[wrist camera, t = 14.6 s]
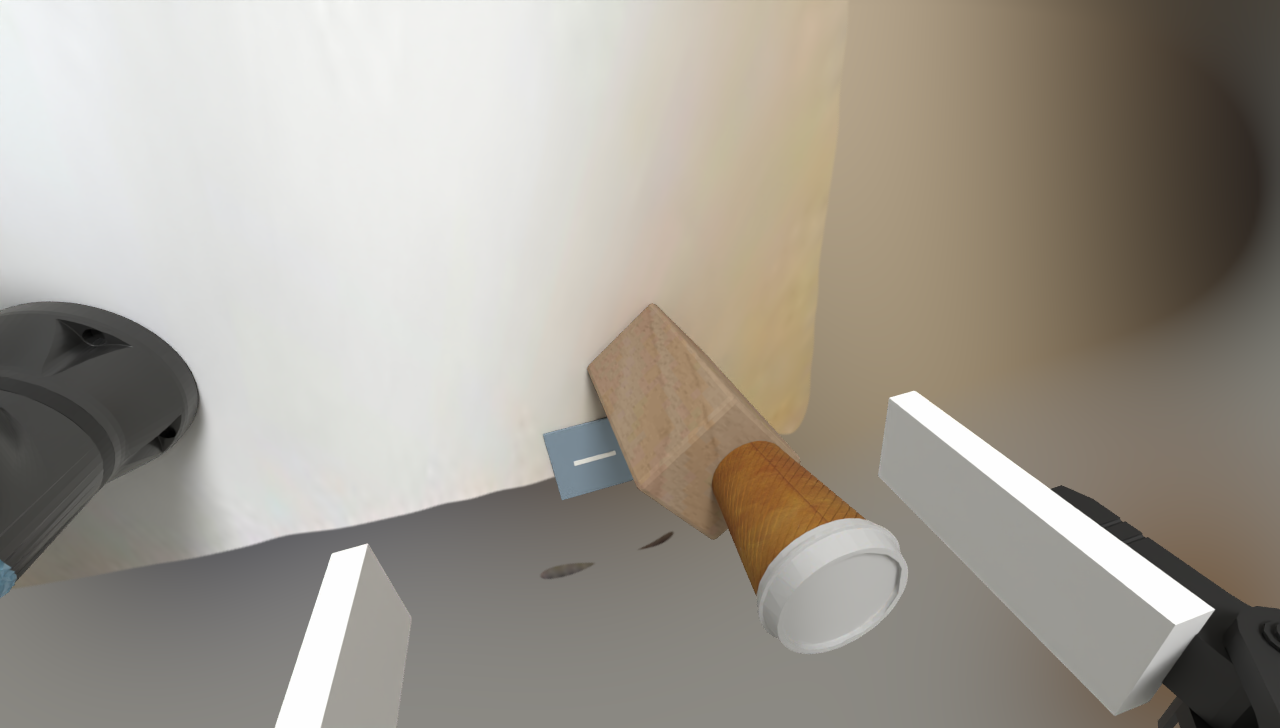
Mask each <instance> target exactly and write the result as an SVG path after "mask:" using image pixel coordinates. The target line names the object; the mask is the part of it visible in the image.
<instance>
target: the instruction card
mask: <svg viewBox="0 0 1280 728" xmlns="http://www.w3.org/2000/svg"><path fill="white" fill-rule="evenodd" d="M543 436H544V440H545V443H546V447H547V450H548V453H549V457H550V460H551V464H552V467H553V471H554V474H555V478H556V481H557V484H558V488H559V491H560V494H561V498H562V500H564V499H568V498H571V497H575V496H579V495H582V494H586V493H589V492H593V491H596V490H600V489H603V488H607V487H610V486H614V485H617V484H621V483H624V482H628V481H631V480H634V479H633V477H632V474H631V472H630V470H629V467H628V465H627V462H626V460H625V458H624V455H623V453H622V451H621V448H620V446H619V444H618V441H617V439H616V436H615V434H614V432H613V429H612V427H611V425H610V422H609V420H608V418H603V419H599V420H595V421H591V422H588V423H584V424H580V425H576V426H572V427H569V428H565V429H561V430H557V431H553V432H549V433H546V434H543Z"/></svg>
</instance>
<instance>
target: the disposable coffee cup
mask: <svg viewBox="0 0 1280 728" xmlns="http://www.w3.org/2000/svg"><path fill="white" fill-rule="evenodd" d="M712 489H713V493H714V495H715V497H716V500H717V502H718V504H719V507H720V509H721V512H722V514H723V516H724V519H725V521H726V524H727V526H728V529H729V531H730V534H731V536H732V539H733V541H734V543H735V546H736V548H737V551H738V553H739V556H740V558H741V560H742V563H743V565H744V568H745V570H746V572H747V575H748V577H749V580H750V582H751V585H752V587H753V589H754V591H755V594H756V596H757V607H758V615H759V619H760V622H761V624H762V625H763V627H764V628H765V630H766V631H767V632H768V633H769V634H771V635H772V636H774V637H776V638H778V639H779V640H780V641H781V642H782V643H783V644H784V645H785V646H786V647H787V648H788V649H790V650H792V651H794V652H797V653H804V654H814V653H822V652H827V651H830V650H833V649H836V648H839V647H842V646H844V645H846V644H848V643H850V642H852V641H854V640H856V639H858V638H860V637H861V636H862V635H864V634H865V633H867V632H868V631H869V630H871V629H872V628H874V627H875V626H876V625H877V624H878V623H879V622H881V621H882V620H883V619H884V618H885V617H886V616H887V615H888V614H889V612H890V611H891V610H892V609H893V608H894V607H895V605H896V603H897V602H898V600H899V598H900V596H901V595H902V593H903V591H904V589H905V586H906V583H907V579H908V568H907V564H906V562H905V560H904V558H903V556H902V555H901V553H900V547H899V543H898V542H897V539H896V538H895V537H894V535H893V534H892V533H891V532H890V531H889V530H887V529H886V528H884V527H881V526H879V525H878V524H875V523H873V522H871V521H868V520H866V519H865V518H864V517H862V516H861V515H860V514H859V513H857V512H856V511H855V510H854V509H853V508H852V507H850V506H849V505H848V504H847V503H846V502H844V501H842V499H841V498H840V497H838V496H837V495H836V494H835V493H834V492H832V491H831V490H829V488H828V487H826V486H825V485H823V483H822V482H820V481H819V480H817V478H816V477H814V476H813V475H811V473H810V472H808V471H807V470H806V469H805V468H804V467H802V466H800V464H799V463H798V462H796V461H795V460H794V459H793V458H791V457H790V456H789V455H788V454H787V453H786V452H784V451H783V450H782V449H781V448H780V447H779V446H777V445H776V444H774V443H771V442H767V441H754V442H750V443H747V444H744V445H742V446H739V447H738V448H736V449H734V450H733V451H731V452H730V453H729V454H728V455H727V456H725V458H724V459H723V460H722V461H721V462H720V464H719V465H718V467H717V469H716V470H715V473H714V475H713V480H712Z"/></svg>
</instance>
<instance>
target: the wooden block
mask: <svg viewBox="0 0 1280 728" xmlns="http://www.w3.org/2000/svg"><path fill="white" fill-rule="evenodd" d="M587 370H588V373H589V375H590V377H591V380H592V382H593V384H594V387H595V389H596V391H597V394H598V396H599V399H600V401H601V403H602V406H603V408H604V410H605V413H606V415H607V418H608V420H609V422H610V425H611V427H612V429H613V432H614V434H615V436H616V439H617V441H618V444H619V446H620V448H621V451H622V453H623V455H624V458H625V460H626V462H627V465H628V467H629V470H630V472H631V474H632V477H633V479H634V481H635V484H636V486H637V488H638V489H639V490H640V491H642V492H643V493H645V494H646V495H648V496H649V497H651V498H652V499H654V500H655V501H656V502H658V503H660V504H661V505H662V506H664V507H665V508H667V509H668V510H669V511H671V512H672V513H674V514H675V515H677V516H678V517H680V518H681V519H683V520H684V521H685V522H687V523H688V524H690V525H691V526H693V527H694V528H696V529H697V530H699V531H700V532H701V533H703V534H705V535H706V536H707V537H709V538H710V539H713V540H714V539H716V538H718V537H719V536H720V535H721V534H722V533H724V532H725V531H726V530H727V529H728V526H727V524H726V521H725V519H724V516H723V514H722V512H721V509H720V507H719V504H718V502H717V500H716V497H715V495H714V493H713V489H712V480H713V475H714V473H715V470H716V469H717V467H718V465H719V464H720V462H721V461H722V460H723V459H724V458H725V456H727V455H728V454H729V453H730V452H731V451H733V450H734V449H736V448H738V447H739V446H742V445H744V444H747V443H750V442H754V441H767V442H771V443H774V444H776V445H777V446H779V447H780V448H781V449H782V450H783V451H784V452H786V453H787V454H788V455H789V456H790V457H791V458H793V459H794V460H795V461H796V462H798V463H799V464H800V459H799V456H798V455H797V454H796V453H795V452H794V451H793V449H792V448H791V447H790V446H789V445H788V444H787V443H786V442H785V441H784V440H783V439H782V437H781V436H780V435H779V434H778V433H777V432H776V431H775V430H774V428H773V427H772V426H771V425H770V424H769V423H768V422H767V421H766V420H765V419H764V417H763V416H762V415H761V414H760V413H759V412H758V411H757V410H756V409H755V408H754V406H753V405H752V404H751V403H750V402H749V401H748V400H747V399H746V398H745V397H744V395H743V394H742V393H741V392H740V391H739V390H738V389H737V388H736V387H735V386H734V384H733V383H732V382H731V381H730V380H729V379H728V378H727V377H726V376H725V375H724V373H723V372H722V371H721V370H720V369H719V368H718V367H717V366H716V365H715V364H714V362H713V361H712V360H711V359H710V358H709V357H708V356H707V355H706V354H705V353H704V352H703V351H702V350H701V349H700V348H699V347H698V346H697V345H696V344H695V343H694V342H693V341H692V340H691V339H690V338H689V337H688V336H687V335H686V334H685V333H684V332H683V331H682V330H681V329H680V328H679V327H678V326H677V325H676V324H675V323H674V322H673V321H672V320H671V319H670V318H669V317H668V316H667V315H666V314H665V313H664V312H663V311H662V310H661V309H660V308H659V307H658V306H657V305H655V304H650V305H649V306H648V307H647V308H646V309H645V310H644V311H643V312H642V313H641V314H640V315H639V316H638V317H637V318H636V319H635V320H634V321H633V322H632V323H631V324H630V325H629V326H628V327H627V328H626V329H625V330H624V331H623V332H622V333H621V334H620V335H619V336H618V337H617V338H616V339H615V340H614V341H613V342H612V343H611V344H610V345H609V346H608V347H607V348H606V349H605V350H604V351H603V352H602V353H601V354H600V355H599V356H598V357H597V358H596V359H595V360H594V361H593V362H592V363H591V364H590V365H589V366H588V368H587Z"/></svg>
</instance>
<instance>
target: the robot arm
mask: <svg viewBox="0 0 1280 728" xmlns="http://www.w3.org/2000/svg"><path fill="white" fill-rule="evenodd" d="M197 406H198V393H197V388H196V384H195V381H194V378H193V376H192V374H191V372H190V370H189V368H188V367H187V365H186V364H185V362H184V361H183V360H182V358H181V357H180V356H179V355H178V354H177V353H176V352H175V351H174V349H173V348H172V347H170V346H169V345H168V344H167V343H166V342H165V341H163V340H162V339H161V338H160V337H158V336H157V335H156V334H154V333H153V332H151V331H150V330H148V329H146V328H145V327H143V326H141V325H139V324H137V323H135V322H133V321H131V320H129V319H127V318H125V317H123V316H120V315H117V314H115V313H112V312H109V311H106V310H103V309H99V308H95V307H91V306H87V305H81V304H75V303H66V302H35V303H27V304H21V305H17V306H13V307H9V308H6V309H4V310H1V311H0V598H1V597H3V596H4V595H5V594H6V593H8V592H9V591H10V589H11V588H12V586H14V585H15V584H14V583H15V582H16V581H17V580H18V579H19V578H20V577H21V575H22V574H23V573H24V572H25V571H26V570H27V569H28V568H29V567H30V566H31V564H32V563H33V562H34V561H35V560H36V559H37V558H38V557H39V556H40V555H41V554H42V552H43V551H44V550H45V549H46V548H47V547H48V546H49V545H50V544H51V543H52V541H53V540H54V539H55V538H56V537H57V536H58V535H59V534H60V533H61V532H62V530H63V529H64V528H65V527H66V526H67V525H68V524H69V523H70V522H71V521H72V519H73V518H74V517H75V516H76V515H77V514H78V513H79V512H80V511H81V510H82V508H83V507H84V506H85V505H86V504H87V503H88V502H89V501H90V500H91V499H92V497H93V496H94V495H95V494H96V493H97V492H98V491H99V490H100V489H101V488H102V487H103V486H104V485H105V484H106V483H108V482H110V481H112V480H114V479H116V478H118V477H120V476H122V475H124V474H126V473H128V472H130V471H132V470H134V469H136V468H138V467H140V466H142V465H144V464H146V463H148V462H150V461H151V460H153V459H155V458H157V457H159V456H160V455H162V454H163V453H164V452H166V451H167V450H168V449H169V448H171V447H172V446H173V445H174V444H175V443H176V442H177V440H178V439H179V438H180V437H181V436H182V435H183V434H184V432H185V431H186V430H187V429H188V427H189V426H190V425H191V423H192V421H193V419H194V417H195V414H196V411H197ZM878 476H879V477H880V478H881V479H882V480H883V481H884V482H885V483H886V484H887V485H888V486H889V487H890V488H891V489H892V490H893V491H894V492H895V493H896V494H897V496H898V497H900V499H901V500H903V502H905V504H906V505H907V506H908V507H909V508H910V509H911V510H912V511H913V512H914V513H915V514H916V515H917V516H918V517H919V518H920V519H921V520H922V521H923V522H924V523H925V524H926V525H927V526H928V527H929V528H930V529H931V530H932V531H933V532H934V533H935V534H936V535H937V536H938V537H939V538H940V539H941V540H942V541H943V542H944V543H945V544H946V545H947V546H948V547H949V548H950V549H951V550H952V551H953V552H954V553H955V554H956V555H957V556H958V557H959V558H960V559H961V561H963V562H964V563H965V565H967V566H968V567H969V569H970V570H971V571H972V572H973V573H974V574H975V575H976V576H977V577H978V578H979V579H980V580H981V581H982V582H983V583H984V584H985V585H986V586H988V588H989V589H990V590H991V591H992V592H993V593H994V594H995V595H996V596H997V597H998V598H999V599H1000V600H1001V601H1002V602H1003V603H1004V604H1005V605H1006V606H1007V607H1008V608H1009V609H1010V610H1011V611H1012V612H1013V613H1014V614H1015V615H1016V616H1017V617H1018V618H1019V619H1020V620H1021V621H1022V622H1023V623H1024V624H1025V626H1026V627H1028V629H1029V630H1030V631H1031V632H1032V633H1033V634H1034V635H1035V636H1036V637H1037V638H1038V639H1039V640H1040V641H1041V642H1042V643H1043V644H1044V645H1045V646H1046V647H1047V648H1048V649H1049V650H1050V651H1051V652H1052V653H1053V654H1054V655H1055V656H1056V657H1057V658H1058V659H1059V660H1060V661H1061V662H1062V663H1063V664H1064V665H1065V666H1066V667H1067V668H1068V669H1069V670H1070V671H1071V672H1072V673H1073V674H1074V675H1075V676H1076V677H1077V678H1078V679H1079V680H1080V681H1081V682H1082V683H1083V684H1084V685H1085V686H1086V687H1087V689H1088V690H1090V692H1092V693H1093V695H1094V696H1095V697H1097V699H1098V700H1099V701H1100V702H1101V703H1102V704H1103V705H1104V706H1105V707H1106V708H1107V709H1108V710H1109V711H1110V712H1111V713H1112V714H1113V715H1114V716H1116V715H1118V714H1121V713H1123V712H1126V711H1128V710H1131V709H1133V708H1135V707H1138V706H1140V705H1143V704H1145V703H1147V702H1149V701H1150V700H1151V698H1152V697H1153V695H1154V694H1155V693H1156V691H1157V690H1158V688H1159V687H1160V686H1161V684H1162V683H1163V684H1164V685H1165V686H1166V687H1167V688H1169V689H1170V690H1171V691H1172V692H1173V693H1174V694H1175V695H1176V696H1177V697H1176V698H1175V699H1174V701H1173V702H1172V703H1171V705H1170V706H1169V707H1168V709H1167V710H1166V711H1165V713H1164V714H1163V715H1162V717H1161V718H1160V719H1159V720H1158V728H1173V727H1174V726H1175V725H1176V724H1177V722H1179V725H1180V728H1280V609H1277V608H1268V607H1260V606H1256V607H1251V606H1249V605H1247V604H1245V603H1243V602H1242V601H1240V600H1239V599H1237V598H1235V597H1234V596H1232V595H1231V594H1229V593H1228V592H1226V591H1225V590H1223V589H1222V588H1221V587H1219V586H1218V585H1216V584H1215V583H1213V582H1212V581H1210V580H1209V579H1208V578H1206V577H1205V576H1203V575H1202V574H1200V573H1199V572H1197V571H1196V570H1195V569H1193V568H1192V567H1190V566H1189V565H1187V564H1186V563H1184V562H1183V561H1182V560H1180V559H1179V558H1177V557H1176V556H1174V555H1173V554H1172V553H1170V552H1169V551H1167V550H1166V549H1164V548H1163V547H1161V546H1160V545H1159V544H1157V543H1156V542H1154V541H1153V540H1151V539H1150V538H1148V537H1147V538H1145V537H1143V535H1142V533H1141V532H1140V531H1138V530H1137V529H1136V528H1134V527H1133V526H1131V525H1130V524H1128V523H1127V522H1122V521H1121V520H1120V517H1118V516H1117V515H1115V514H1114V513H1112V512H1111V511H1110V510H1108V509H1107V508H1105V507H1104V506H1102V505H1101V504H1099V503H1098V502H1096V501H1095V500H1094V499H1092V498H1090V497H1087V496H1085V495H1083V494H1080V493H1078V492H1076V491H1074V490H1071V489H1069V488H1067V487H1064V486H1062V485H1061V486H1058V487H1055V488H1052V489H1049V488H1047V487H1046V486H1045V485H1044V484H1042V483H1041V482H1039V481H1038V480H1037V479H1035V478H1034V477H1033V476H1031V475H1030V474H1028V473H1027V472H1025V471H1024V470H1023V469H1022V468H1020V467H1019V466H1018V465H1016V464H1015V463H1013V462H1012V461H1011V460H1009V459H1008V458H1006V457H1005V456H1004V455H1002V454H1001V453H999V452H998V451H997V450H995V449H994V448H993V447H991V446H990V445H989V444H987V443H986V442H985V441H983V440H982V439H980V438H979V437H978V436H976V435H975V434H974V433H972V432H971V431H970V430H968V429H967V428H965V427H964V426H963V425H961V424H960V423H959V422H957V421H956V420H954V419H953V418H952V417H950V416H949V415H948V414H946V413H945V412H943V411H942V410H941V409H939V408H938V407H937V406H935V405H934V404H932V403H931V402H930V401H928V400H927V399H926V398H924V397H923V396H922V395H920V394H919V393H917V392H916V391H912V392H909V393H905V394H901V395H898V396H894V397H890V398H889V403H888V409H887V417H886V424H885V431H884V438H883V445H882V452H881V459H880V466H879V473H878ZM411 620H412V618H411V616H410V614H409V612H408V611H407V609H406V607H405V605H404V604H403V602H402V601H401V599H400V597H399V595H398V594H397V592H396V591H395V589H394V587H393V585H392V584H391V582H390V580H389V579H388V577H387V575H386V573H385V572H384V570H383V568H382V567H381V565H380V563H379V562H378V560H377V558H376V556H375V555H374V553H373V551H372V550H371V548H370V546H369V545H368V544H365V545H361V546H357V547H354V548H350V549H347V550H343V551H339V552H336V553H332V555H331V558H330V561H329V564H328V567H327V570H326V573H325V576H324V579H323V582H322V585H321V589H320V592H319V594H318V598H317V601H316V604H315V607H314V610H313V613H312V616H311V619H310V622H309V625H308V628H307V631H306V634H305V638H304V640H303V643H302V646H301V649H300V653H299V656H298V659H297V662H296V665H295V668H294V671H293V674H292V677H291V680H290V683H289V686H288V689H287V692H286V695H285V699H284V701H283V704H282V707H281V710H280V714H279V717H278V720H277V723H276V726H275V728H396V727H397V719H398V712H399V705H400V698H401V691H402V684H403V677H404V669H405V662H406V656H407V649H408V641H409V634H410V627H411Z"/></svg>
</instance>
